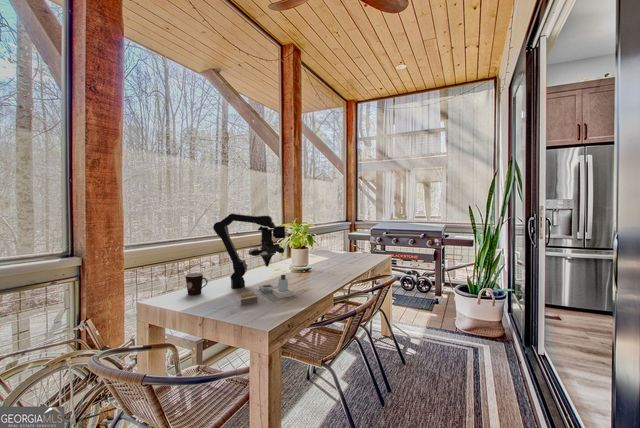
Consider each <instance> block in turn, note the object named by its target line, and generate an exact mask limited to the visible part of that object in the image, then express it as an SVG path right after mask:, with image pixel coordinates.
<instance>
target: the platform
mask: <svg viewBox="0 0 640 428" xmlns="http://www.w3.org/2000/svg"><path fill="white" fill-rule="evenodd" d="M240 294H241V295H239V296H238V298H237V299H238V301H240V306H243V305H249V304H255V303H258V297H261V294H260V293H255V291H246V292H241V293H240Z"/></svg>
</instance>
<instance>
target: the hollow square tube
mask: <svg viewBox="0 0 640 428" xmlns="http://www.w3.org/2000/svg"><path fill="white" fill-rule="evenodd" d="M275 287H276V286H274V285H273V284H270V283H268V284H262V285H261V284H260V285H259V286H258V289H259V291H261V292H262V293H269V292H273V289H275Z"/></svg>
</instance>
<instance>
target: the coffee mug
mask: <svg viewBox="0 0 640 428" xmlns="http://www.w3.org/2000/svg"><path fill="white" fill-rule="evenodd" d="M184 276H185V281H186V282H185V283H186V289H187V295H188V296H192V297H193V296H198V295H201V294H202V289H203V288H204V287H206V286H207V285H208V282H209V281H208V279H207V278H206V277H204V273H202V272H192V273H188V274H187V273H186V274H185V275H184ZM203 280H205V281H206V282H205V284H204V285H203Z"/></svg>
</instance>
